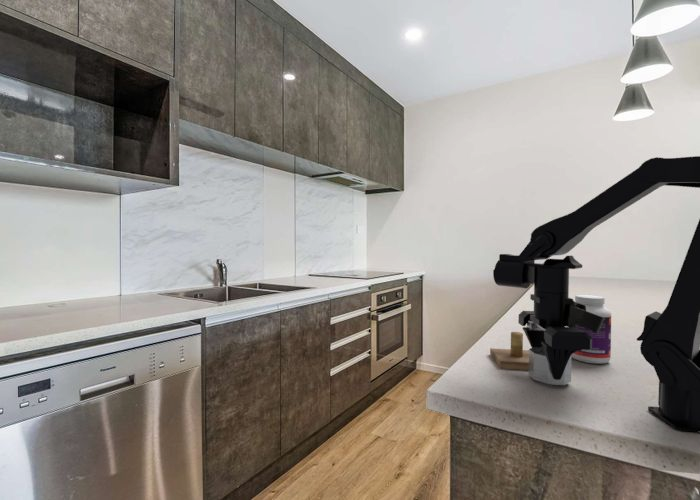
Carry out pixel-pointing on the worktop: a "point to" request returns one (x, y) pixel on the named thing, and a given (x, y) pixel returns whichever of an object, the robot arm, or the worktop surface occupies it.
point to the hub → (545, 368)
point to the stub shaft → (512, 354)
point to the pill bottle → (602, 339)
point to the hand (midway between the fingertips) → (549, 372)
